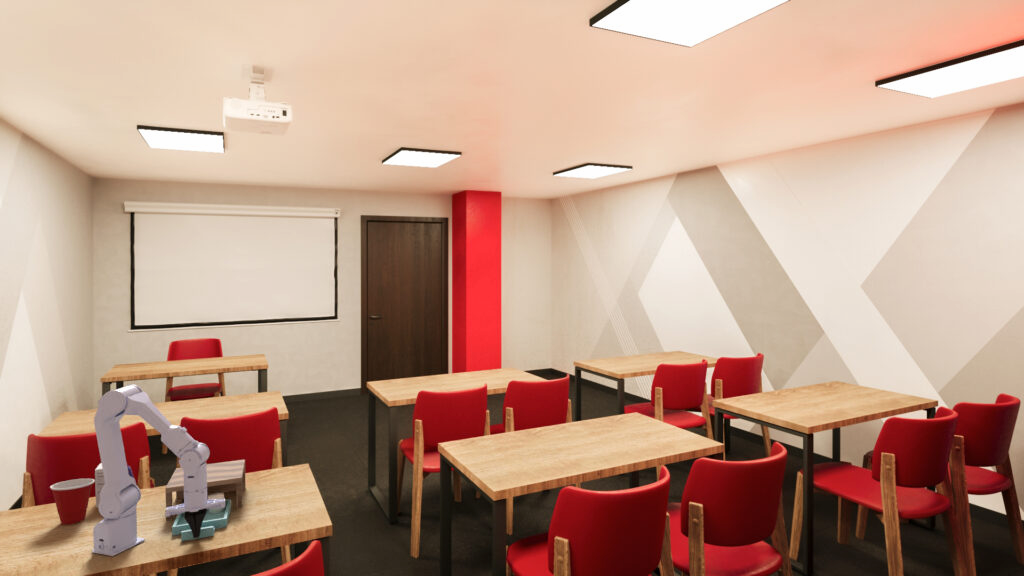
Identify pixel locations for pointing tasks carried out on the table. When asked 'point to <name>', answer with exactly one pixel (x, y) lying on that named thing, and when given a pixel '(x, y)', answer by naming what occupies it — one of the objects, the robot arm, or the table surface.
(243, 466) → the walnut shelf
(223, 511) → the tray
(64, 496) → the plastic cup
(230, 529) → the table surface
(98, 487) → the supplement box
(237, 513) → the table surface
